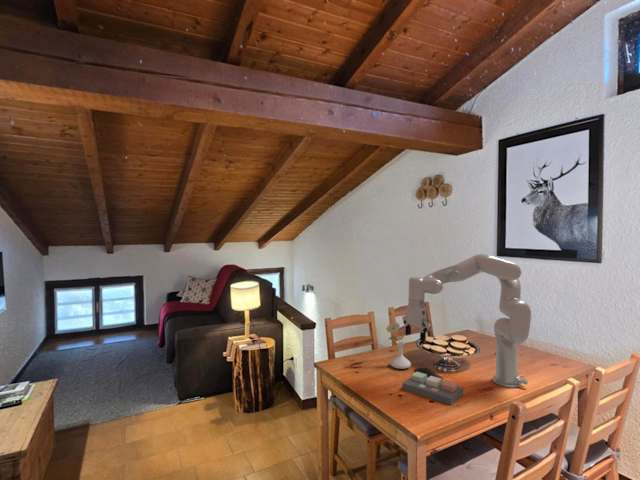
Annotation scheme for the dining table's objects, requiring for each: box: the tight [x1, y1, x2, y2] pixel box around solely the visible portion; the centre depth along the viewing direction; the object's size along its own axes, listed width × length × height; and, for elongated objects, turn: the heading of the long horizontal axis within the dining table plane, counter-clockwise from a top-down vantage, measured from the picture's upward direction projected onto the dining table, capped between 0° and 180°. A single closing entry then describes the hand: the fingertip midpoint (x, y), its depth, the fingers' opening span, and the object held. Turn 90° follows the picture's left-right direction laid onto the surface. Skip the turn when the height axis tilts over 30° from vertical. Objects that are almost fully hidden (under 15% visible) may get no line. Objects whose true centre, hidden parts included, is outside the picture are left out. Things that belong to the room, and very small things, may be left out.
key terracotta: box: [442, 379, 459, 393], centre depth 158 cm, size 5×5×3 cm
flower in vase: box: [386, 321, 412, 370], centre depth 191 cm, size 13×11×25 cm
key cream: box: [426, 376, 443, 388], centre depth 163 cm, size 5×5×3 cm
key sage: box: [411, 371, 427, 383], centre depth 168 cm, size 5×5×3 cm
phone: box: [414, 367, 444, 381], centre depth 180 cm, size 8×1×15 cm
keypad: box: [402, 376, 464, 406], centre depth 161 cm, size 23×14×3 cm, turn 48°
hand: (415, 337), depth 169 cm, fingers open, 9 cm apart
